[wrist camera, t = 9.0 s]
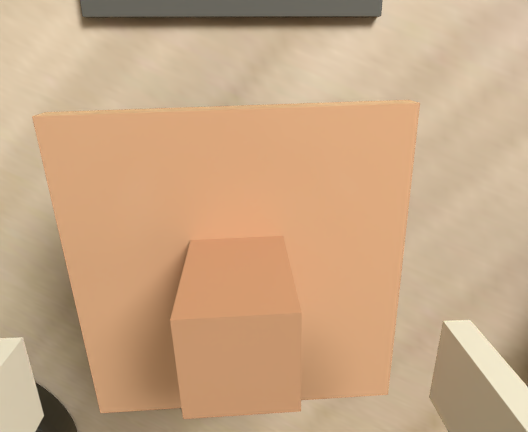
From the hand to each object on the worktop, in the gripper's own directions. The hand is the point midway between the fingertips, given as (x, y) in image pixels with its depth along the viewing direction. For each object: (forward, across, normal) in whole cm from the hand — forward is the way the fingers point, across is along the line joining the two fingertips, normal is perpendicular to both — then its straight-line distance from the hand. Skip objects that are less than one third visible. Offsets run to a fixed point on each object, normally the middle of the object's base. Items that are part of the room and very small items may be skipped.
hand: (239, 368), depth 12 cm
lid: (+6, 0, 0) cm, 6 cm away
